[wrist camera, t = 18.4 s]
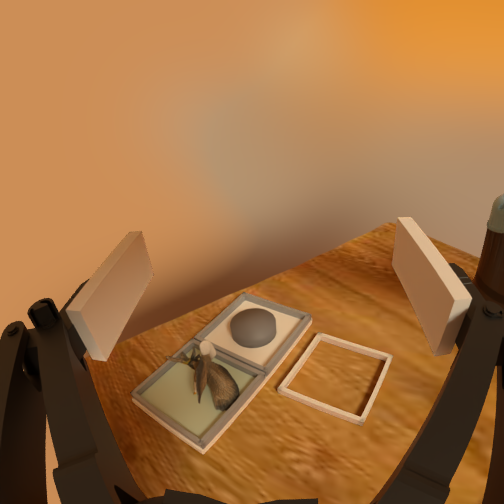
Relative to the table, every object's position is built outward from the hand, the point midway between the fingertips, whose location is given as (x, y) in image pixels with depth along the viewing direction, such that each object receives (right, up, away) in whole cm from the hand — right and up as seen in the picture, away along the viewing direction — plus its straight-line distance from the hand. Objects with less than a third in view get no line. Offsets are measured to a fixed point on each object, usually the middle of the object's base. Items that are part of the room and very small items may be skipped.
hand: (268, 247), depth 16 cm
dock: (-4, -17, +29) cm, 33 cm away
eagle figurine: (-7, -19, +24) cm, 31 cm away
